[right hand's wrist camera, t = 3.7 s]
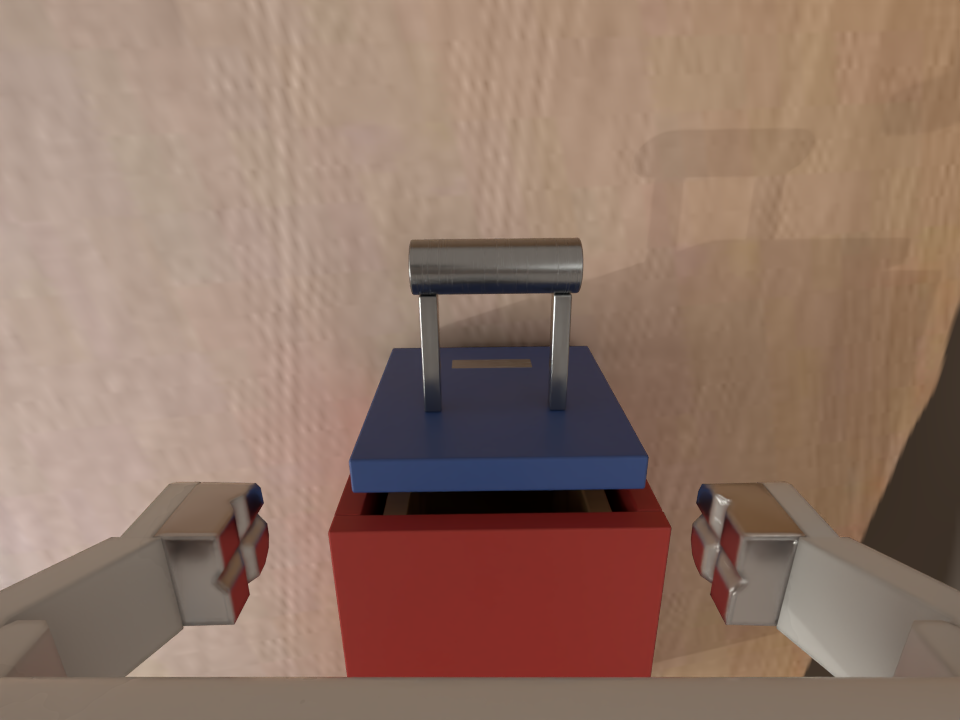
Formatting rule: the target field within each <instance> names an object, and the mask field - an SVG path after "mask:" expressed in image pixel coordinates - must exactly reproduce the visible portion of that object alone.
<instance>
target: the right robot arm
mask: <svg viewBox="0 0 960 720" xmlns="http://www.w3.org/2000/svg"><path fill="white" fill-rule="evenodd" d="M696 503H697V505H698V507H699V509H700V510H701V512H702V515H701V516H700V517H699V518H698V519H697V520H696V521H695V522H694V523H693V526H692V534H691V545H692V555H693V558H694V562H695V565H696V567H697V569H698V571H699V573H700V575H701V576H702V577H703V578H705V579H706V580H708V581H709V582H710V583H712V588H711V593H710V595H711V597H712V599H713V601H714V603H715V605H716V607H717V608H718V610H719V612H720V614H721V616H722V618H723V620H724V622H725V624H726V625H760V626H777V629H778V630H779V631H780V632H781V633H783V634H784V635H785V636H786V637H788V638H789V639H790V640H791V641H792V642H794V643H795V644H796V645H797V646H798V647H800V648H801V649H802V650H803V651H805V652H806V653H807V654H808V655H809V656H811V657H812V658H813V659H814V660H815V661H817V662H818V663H819V664H820V665H822V666H823V667H824V668H825V669H826V670H828V671H829V672H830V673H831V674H832V675H834V676H835V677H125V676H127V675H128V674H129V673H130V672H131V671H133V670H134V669H135V668H136V667H137V666H139V665H140V664H141V663H142V662H144V661H145V660H146V659H147V658H148V657H150V656H151V655H152V654H153V653H154V652H156V651H157V650H158V649H159V648H161V647H162V646H163V645H164V644H165V643H167V642H168V641H169V640H170V639H171V638H173V637H174V636H175V635H176V634H178V633H179V632H180V631H181V630H182V629H183V626H200V625H234V624H235V622H236V620H237V618H238V616H239V614H240V612H241V610H242V609H243V607H244V605H245V603H246V601H247V599H248V597H249V595H250V593H249V588H248V583H250V582H251V581H252V580H254V579H255V578H257V577H258V576H259V575H260V573H261V571H262V569H263V567H264V565H265V562H266V558H267V553H268V549H269V533H268V526H267V523H266V522H265V521H264V520H263V519H262V518H261V517H260V516H259V515H258V512H259V510H260V509H261V507H262V505H263V504H264V502H263V497H262V492H261V488H260V487H259V486H258V485H257V484H256V483H225V482H202V483H201V482H175V483H171V484H169V485H168V486H167V487H166V488H165V489H164V490H163V491H162V492H161V493H160V495H159V496H158V497H157V498H156V499H155V500H154V501H153V502H152V503H151V504H150V505H149V506H148V508H147V509H146V510H145V511H144V512H143V513H142V514H141V515H140V516H139V517H138V518H137V519H136V521H135V522H134V523H133V524H132V525H131V526H130V527H129V528H128V529H127V530H126V531H125V533H124V534H123V535H122V536H121V537H111V538H109V539H107V540H105V541H102V542H100V543H98V544H96V545H94V546H92V547H90V548H88V549H86V550H84V551H82V552H80V553H78V554H76V555H74V556H71V557H69V558H67V559H65V560H63V561H61V562H59V563H57V564H55V565H53V566H51V567H49V568H47V569H45V570H42V571H40V572H38V573H36V574H34V575H32V576H30V577H28V578H26V579H24V580H22V581H20V582H18V583H16V584H14V585H11V586H9V587H7V588H5V589H3V590H1V591H0V720H960V591H959V590H956V589H954V588H952V587H950V586H948V585H946V584H944V583H942V582H940V581H938V580H936V579H934V578H932V577H930V576H928V575H926V574H924V573H921V572H919V571H917V570H915V569H913V568H911V567H909V566H907V565H905V564H903V563H901V562H899V561H897V560H894V559H893V558H891V557H888V556H886V555H884V554H882V553H880V552H878V551H876V550H874V549H872V548H870V547H868V546H866V545H864V544H862V543H860V542H858V541H855V540H853V539H851V538H849V537H839V536H838V535H837V534H836V533H835V531H834V530H833V529H832V528H831V527H830V526H829V525H828V524H827V523H826V522H825V521H824V519H823V518H822V517H821V516H820V515H819V514H818V513H817V512H816V511H815V510H814V509H813V508H812V506H811V505H810V504H809V503H808V502H807V501H806V500H805V499H804V498H803V497H802V496H801V494H800V493H799V492H798V491H797V490H796V489H795V488H794V487H793V486H792V485H791V484H789V483H787V482H757V483H726V484H702V485H701V487H700V489H699V491H698V496H697V502H696Z"/></svg>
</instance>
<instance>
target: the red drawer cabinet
mask: <svg viewBox="0 0 960 720" xmlns="http://www.w3.org/2000/svg"><path fill="white" fill-rule="evenodd" d="M604 491H605V494H606V497H607V500H608V502H609V505H610V508H611V510H612V512H575V513H503V514H431V515H383V513H384V509H385V505H386V501H387V496H388V492H375V493H354V492H353V491H352V485H351V476H350V475H349V478H348V480H347V483H346V486H345V488H344V491H343V494H342V496H341V499H340V502H339V504H338V507H337V510H336V512H335V515H334V518H333V521H332V524H331V527H330V529H329V532H328V536H329V543H330V551H331V558H332V566H333V573H334V581H335V588H336V596H337V604H338V611H339V619H340V626H341V634H342V641H343V649H344V656H345V664H346V672H347V677H651V670H652V663H653V656H654V649H655V641H656V634H657V627H658V620H659V613H660V606H661V599H662V592H663V584H664V577H665V570H666V563H667V556H668V549H669V542H670V535H671V526H670V524H669V522H668V520H667V518H666V516H665V514H664V512H662V509H661V507H660V505H659V503H658V501H657V499H656V497H655V495H654V493H653V491H652V489H651V487H650V485H649V483H648V482H647V480H646V484H645V488H644V489H604Z"/></svg>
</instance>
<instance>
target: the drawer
mask: <svg viewBox="0 0 960 720" xmlns="http://www.w3.org/2000/svg"><path fill="white" fill-rule="evenodd" d="M582 277H583V249H582V244H581V241H580V239H579V238H520V239H430V240H411V241H410V245H409V279H410V287H411V292H412V294H413V295H420V296H419V312H420V331H421V348H394V349H393V350H392V353H391V355H390V358H389V360H388V363H387V365H386V368H385V370H384V373H383V376H382V378H381V381H380V383H379V386H378V388H377V391H376V393H375V396H374V399H373V401H372V404H371V406H370V409H369V411H368V414H367V416H366V419H365V421H364V424H363V427H362V429H361V432H360V434H359V437H358V439H357V442H356V444H355V447H354V450H353V452H352V455H351V457H350V460H349V467H350V476H351V485H352V491H353V492H354V493H375V492H388V496H387V501H386V505H385V509H384V513H383V515H431V514H503V513H575V512H612V510H611V508H610V505H609V502H608V500H607V497H606V494H605V491H604V489H644V488H645V484H646V475H647V466H648V458H649V457H648V455H647V453H646V451H645V450H644V448H643V446H642V444H641V442H640V440H639V439H638V437H637V435H636V433H635V431H634V430H633V428H632V426H631V424H630V422H629V421H628V419H627V417H626V415H625V413H624V411H623V410H622V408H621V406H620V404H619V402H618V401H617V399H616V397H615V395H614V393H613V392H612V390H611V388H610V386H609V384H608V382H607V381H606V379H605V377H604V375H603V373H602V372H601V370H600V368H599V366H598V364H597V363H596V361H595V359H594V357H593V355H592V354H591V352H590V350H589V348H588V347H587V346H569V342H570V323H571V304H572V295H571V293H578V292H579V291H580V288H581V284H582ZM528 293H552V300H551V326H550V347H468V348H440V332H439V305H438V295H442V294H528Z"/></svg>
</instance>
